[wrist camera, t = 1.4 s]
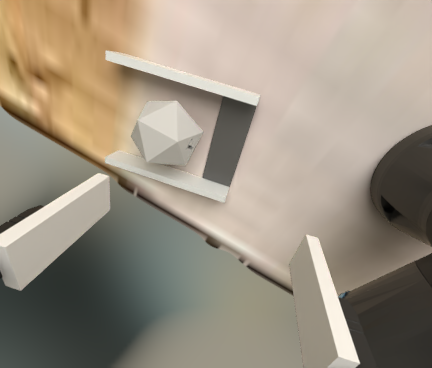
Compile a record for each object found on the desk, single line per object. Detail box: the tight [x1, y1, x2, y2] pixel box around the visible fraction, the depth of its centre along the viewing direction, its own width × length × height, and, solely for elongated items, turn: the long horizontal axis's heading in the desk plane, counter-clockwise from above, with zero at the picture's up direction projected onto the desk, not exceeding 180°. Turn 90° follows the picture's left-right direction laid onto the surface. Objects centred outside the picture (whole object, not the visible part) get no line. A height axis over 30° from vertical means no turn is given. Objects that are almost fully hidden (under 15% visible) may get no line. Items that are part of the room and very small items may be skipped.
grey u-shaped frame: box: [105, 51, 260, 203], centre depth 30 cm, size 19×15×4 cm
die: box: [131, 101, 203, 166], centre depth 29 cm, size 8×9×10 cm
